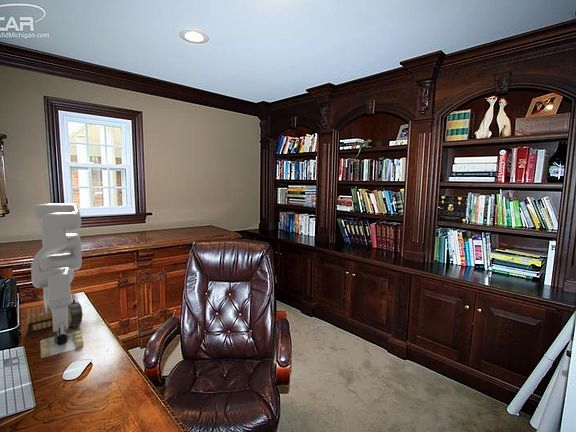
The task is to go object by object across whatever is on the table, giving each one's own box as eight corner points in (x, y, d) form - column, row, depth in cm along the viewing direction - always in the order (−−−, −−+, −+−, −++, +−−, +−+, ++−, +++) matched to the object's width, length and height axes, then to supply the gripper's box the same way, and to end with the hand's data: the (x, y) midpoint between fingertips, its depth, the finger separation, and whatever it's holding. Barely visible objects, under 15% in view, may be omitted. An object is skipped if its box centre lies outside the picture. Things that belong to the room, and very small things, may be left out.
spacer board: (40, 341, 130) (40, 334, 130) (79, 331, 139) (79, 325, 139) (41, 359, 117) (40, 352, 116) (84, 347, 126) (83, 340, 125)
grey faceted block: (53, 341, 129) (53, 335, 129) (68, 337, 133) (68, 332, 132) (54, 345, 126) (54, 340, 126) (69, 341, 129) (69, 336, 129)
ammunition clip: (27, 334, 135) (26, 309, 134) (27, 333, 136) (25, 307, 135) (57, 327, 143) (56, 303, 141) (56, 325, 144) (55, 302, 143)
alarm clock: (65, 324, 145) (63, 292, 144) (78, 321, 149) (77, 289, 148) (71, 332, 138) (69, 298, 136) (84, 328, 142) (83, 295, 140)
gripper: (47, 298, 128) (50, 339, 129) (49, 309, 116) (51, 354, 118) (69, 294, 133) (71, 334, 134) (72, 305, 121) (74, 347, 123)
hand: (62, 343), depth 126 cm, fingers closed
